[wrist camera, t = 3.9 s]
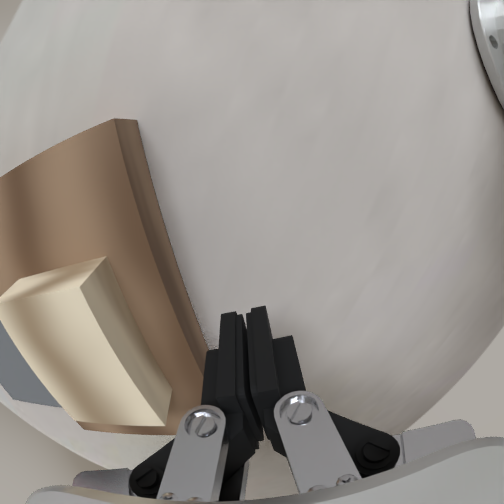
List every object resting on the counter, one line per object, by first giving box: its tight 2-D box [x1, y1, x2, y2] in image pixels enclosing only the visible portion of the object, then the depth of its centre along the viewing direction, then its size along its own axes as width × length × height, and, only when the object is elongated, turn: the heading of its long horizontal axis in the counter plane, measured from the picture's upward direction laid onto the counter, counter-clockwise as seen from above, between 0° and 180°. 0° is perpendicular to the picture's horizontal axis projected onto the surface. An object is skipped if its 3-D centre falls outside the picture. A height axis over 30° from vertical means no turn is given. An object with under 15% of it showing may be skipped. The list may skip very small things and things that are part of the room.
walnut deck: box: [0, 119, 209, 435], centre depth 13 cm, size 12×18×2 cm, turn 11°
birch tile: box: [0, 256, 172, 426], centre depth 11 cm, size 6×8×2 cm
